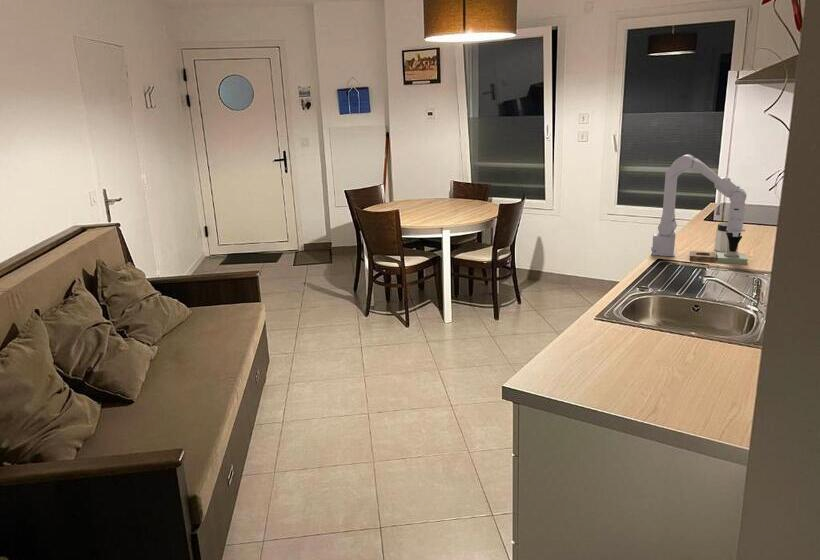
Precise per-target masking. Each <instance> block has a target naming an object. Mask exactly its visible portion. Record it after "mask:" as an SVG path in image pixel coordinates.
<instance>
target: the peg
mask: <svg viewBox="0 0 820 560" xmlns="http://www.w3.org/2000/svg"><path fill="white" fill-rule="evenodd" d="M738 246H739V245H738ZM738 246H737V249H736V252H730V250H729V240H728V239H727V244H726V252H724V253H725V257H737V253H738V248H739V247H738Z"/></svg>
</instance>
